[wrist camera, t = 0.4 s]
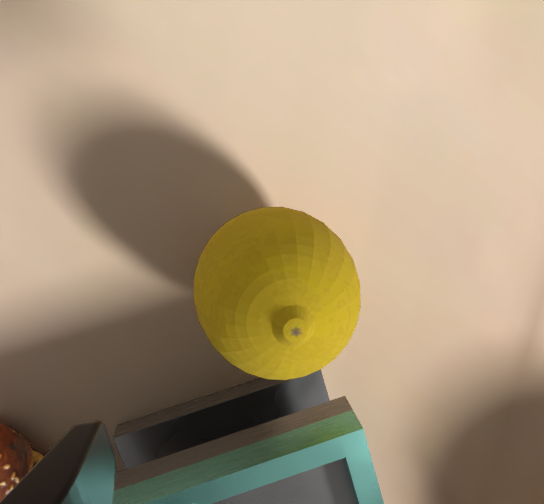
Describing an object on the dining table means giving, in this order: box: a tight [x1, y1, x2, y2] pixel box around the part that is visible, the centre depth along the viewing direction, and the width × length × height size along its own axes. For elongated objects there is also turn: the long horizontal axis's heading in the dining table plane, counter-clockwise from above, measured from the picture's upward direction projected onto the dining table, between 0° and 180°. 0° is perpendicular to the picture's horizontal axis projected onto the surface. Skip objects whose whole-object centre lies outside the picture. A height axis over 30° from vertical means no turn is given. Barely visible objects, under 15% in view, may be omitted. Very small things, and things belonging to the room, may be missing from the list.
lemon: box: [194, 207, 360, 380], centre depth 18 cm, size 6×6×8 cm
